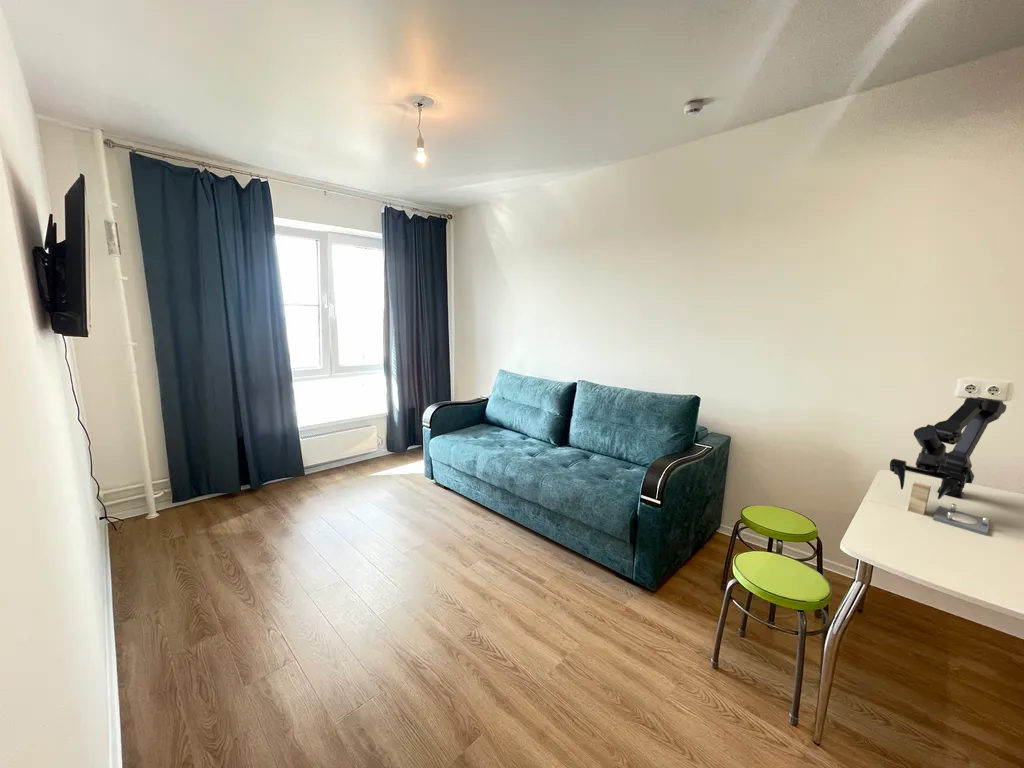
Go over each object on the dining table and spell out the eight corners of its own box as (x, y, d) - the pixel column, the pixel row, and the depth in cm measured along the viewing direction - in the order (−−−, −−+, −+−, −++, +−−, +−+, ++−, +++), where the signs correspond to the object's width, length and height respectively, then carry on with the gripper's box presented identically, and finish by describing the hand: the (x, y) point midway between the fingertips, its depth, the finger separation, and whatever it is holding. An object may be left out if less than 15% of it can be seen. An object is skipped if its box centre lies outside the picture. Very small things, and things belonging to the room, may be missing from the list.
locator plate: (938, 508, 145) (940, 499, 144) (989, 522, 136) (992, 512, 135) (932, 519, 138) (934, 510, 137) (986, 535, 128) (989, 525, 128)
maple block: (909, 506, 146) (915, 480, 144) (925, 511, 143) (931, 484, 141) (907, 510, 144) (913, 484, 142) (923, 514, 141) (929, 488, 139)
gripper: (895, 437, 148) (883, 473, 144) (972, 452, 134) (960, 493, 130) (896, 452, 155) (884, 488, 150) (969, 468, 140) (958, 507, 136)
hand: (919, 493), depth 141 cm, fingers open, 9 cm apart
